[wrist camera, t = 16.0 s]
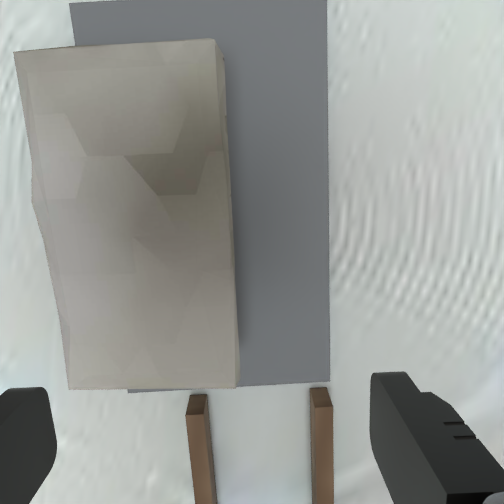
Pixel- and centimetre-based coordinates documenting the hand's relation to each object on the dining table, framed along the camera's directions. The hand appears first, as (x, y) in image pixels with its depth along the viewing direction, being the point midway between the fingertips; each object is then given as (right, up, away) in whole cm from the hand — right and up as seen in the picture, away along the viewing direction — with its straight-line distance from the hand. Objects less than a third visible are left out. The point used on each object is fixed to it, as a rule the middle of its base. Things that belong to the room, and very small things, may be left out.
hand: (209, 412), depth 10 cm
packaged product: (0, +5, +12) cm, 13 cm away
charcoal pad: (-1, +6, +15) cm, 17 cm away
